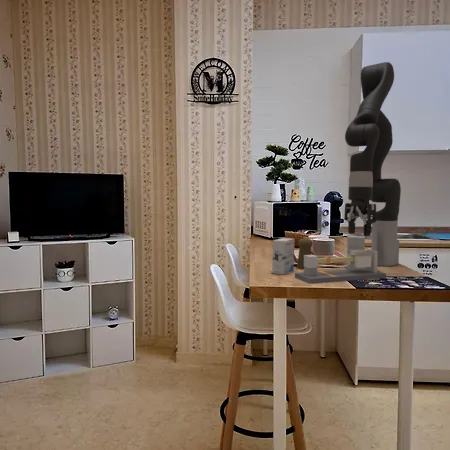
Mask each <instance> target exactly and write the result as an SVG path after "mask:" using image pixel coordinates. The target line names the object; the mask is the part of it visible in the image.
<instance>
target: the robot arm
mask: <svg viewBox="0 0 450 450" xmlns="http://www.w3.org/2000/svg"><path fill="white" fill-rule="evenodd" d="M394 80H395V71H394V66H393V65H392V63H391V62H389V61H386V62H385V61H384V62H379V63H374V64H371V65H370V64H369V65H367V66H363V67H362V68H361V72H360V84H361V93H362V101H361V103H360V105H359V107H358V110H357V114H356V116H355V117H354V119H353V120H352V121H351V122H350V123H349V125H348V126H347V127H346V131H345V132H344V133H345V134H344V139H345V142H346V144H347V145H348V146H349V147H352V148H354V147H356V148H357V147H358V148H359V147H365V148H364V150H363V151H361V152H358V153H354V154H352V155H351V156H350V162H349V175H348V176H349V177H348V195H347V196H348V197H347V198H348V200H349V201H351V202H346V203H345V205H344V217H343V220H344V221H346V222H347V223H348V225H347V226H348V229H347V233H348V234H350V235H353V234H355V233H356V223H355V222H356V221H357V219H358V218H360V219H361V220H362V221H363V232H362V233H363V236H364V237H371V249H370V250H372V251H378V261H377V266H381V267H384V266H385V267H386V266H387V267H394V266H398V265H399V264H400V263H399V262H400V261H399V260H400V258H399V257H400V240H399V239H398V223H399V222H398V221H399V220H398V219H399V213H400V205H401V204H400V202H401V195H402V193H401V192H402V188H401V187H402V186H401V183H400V181H399V179H397V178H382V167H383V164H384V161H385V160H386V158H387V156H388V155H389V153H390V151H391V149H392V145H393V128H392V127H393V126H392V123H391V121H390V119H389V118H388V117H387V115H386V114H385V113H384V112H383V111H382V110H381V108H382V107H383V104H384V102H385V100H386V99H387V97H388V95H389V94H390V93H389V92H390V91H391V89H392V87H393V85H394ZM370 201H371V202H372V203H370ZM376 203H378V204H379V203H381V204H382V203H383V204H384V207H383V208H382V209H380V210H377V204H376Z"/></svg>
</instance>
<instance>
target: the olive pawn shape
mask: <svg viewBox="0 0 450 450" xmlns="http://www.w3.org/2000/svg"><path fill="white" fill-rule="evenodd" d="M297 245H298V247H299V250H298V256H297V264H296V269H298V270H303V271H304V255H313V254H312V247H313V241H312V239H311V238H300V239H299V240H298V242H297Z"/></svg>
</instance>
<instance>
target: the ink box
mask: <svg viewBox="0 0 450 450" xmlns="http://www.w3.org/2000/svg"><path fill="white" fill-rule="evenodd" d="M295 241H296V240H295V238H290V237H287V238H286V237H281V238H278V239H277V238H276V239H273V240H272V266H271V267H272V269H271V272H272V274H275V275H283V276H284V275H287V274H289V273H292V272H294V271H295V270H294V269H295Z"/></svg>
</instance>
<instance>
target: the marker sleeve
mask: <svg viewBox="0 0 450 450" xmlns="http://www.w3.org/2000/svg"><path fill="white" fill-rule="evenodd" d="M346 252H347V253H346V254H347V255H346V257H353V256H355V261H352V262H346V266H347V265H355V267H357V268H362V267H364V268H366V267H371V252H370V251H366V250H361V249H358V250H347V251H346Z"/></svg>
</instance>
